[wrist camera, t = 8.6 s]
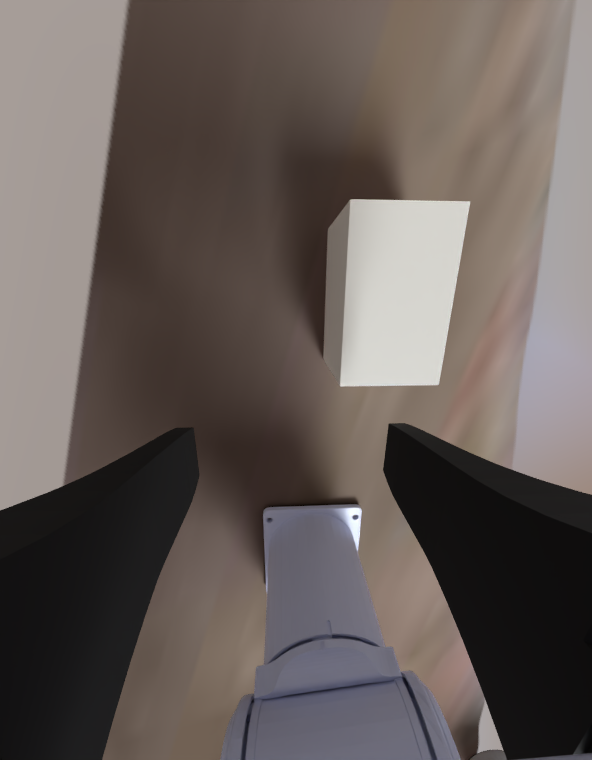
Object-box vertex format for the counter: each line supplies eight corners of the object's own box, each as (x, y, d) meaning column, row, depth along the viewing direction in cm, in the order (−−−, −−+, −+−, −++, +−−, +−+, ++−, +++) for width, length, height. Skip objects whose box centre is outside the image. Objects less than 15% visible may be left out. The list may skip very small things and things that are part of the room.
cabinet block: (394, 358, 19) (438, 384, 14) (323, 359, 19) (340, 386, 14) (409, 230, 17) (470, 201, 11) (327, 229, 17) (350, 199, 11)
